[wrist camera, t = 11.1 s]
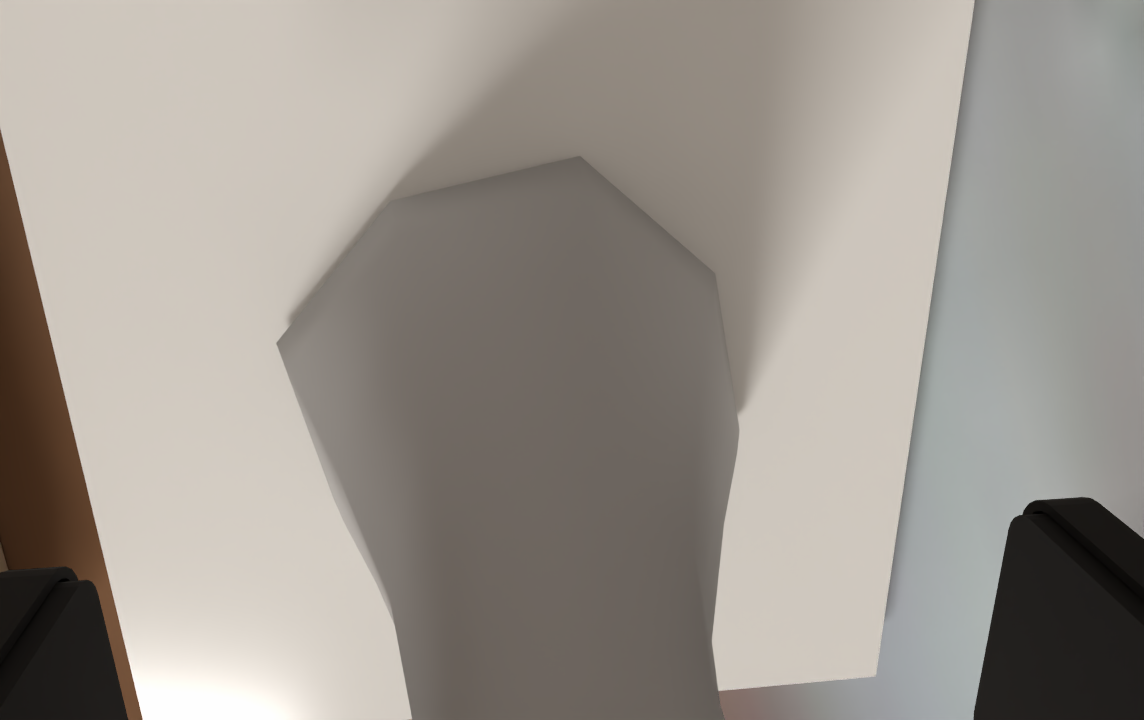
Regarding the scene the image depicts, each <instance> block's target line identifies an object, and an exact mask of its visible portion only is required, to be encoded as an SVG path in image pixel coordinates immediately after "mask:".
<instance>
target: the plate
mask: <svg viewBox="0 0 1144 720" xmlns="http://www.w3.org/2000/svg"><path fill="white" fill-rule="evenodd" d="M974 2H975V0H0V129H1V133H2V137H3V142H4V146H5V150H6V154H7V158H8V162H9V166H10V171H11V175H12V179H13V183H14V187H15V191H16V195H17V200H18V204H19V208H20V212H21V216H22V220H23V224H24V229H25V233H26V237H27V241H28V245H29V249H30V253H31V258H32V262H33V266H34V270H35V274H36V278H37V282H38V287H39V291H40V295H41V299H42V303H43V307H44V311H45V316H46V320H47V324H48V328H49V332H50V336H51V340H52V344H53V349H54V353H55V357H56V361H57V365H58V369H59V373H60V378H61V382H62V386H63V390H64V394H65V398H66V402H67V407H68V411H69V415H70V419H71V423H72V427H73V431H74V436H75V440H76V444H77V448H78V452H79V456H80V460H81V465H82V469H83V473H84V477H85V481H86V485H87V489H88V494H89V498H90V502H91V506H92V510H93V514H94V518H95V523H96V527H97V531H98V535H99V539H100V543H101V547H102V552H103V556H104V560H105V564H106V568H107V572H108V576H109V581H110V585H111V589H112V593H113V597H114V601H115V605H116V610H117V614H118V618H119V622H120V626H121V630H122V634H123V639H124V643H125V647H126V651H127V655H128V659H129V663H130V668H131V672H132V676H133V680H134V684H135V688H136V692H137V697H138V701H139V705H140V709H141V713H142V717H143V720H408V719H412V716H411V710H410V705H409V699H408V694H407V689H406V683H405V678H404V673H403V667H402V662H401V657H400V651H399V646H398V641H397V635H396V630H395V625H394V623H393V621H392V618H391V616H390V614H389V611H388V609H387V607H386V604H385V602H384V600H383V598H382V595H381V593H380V591H379V588H378V586H377V584H376V582H375V580H374V578H373V576H372V574H371V572H370V571H369V569H368V567H367V565H366V563H365V561H364V559H363V557H362V555H361V554H360V552H359V550H358V548H357V546H356V544H355V542H354V540H353V538H352V537H351V535H350V533H349V531H348V529H347V527H346V525H345V523H344V521H343V519H342V517H341V515H340V512H339V510H338V508H337V505H336V503H335V501H334V498H333V496H332V493H331V490H330V488H329V485H328V482H327V479H326V477H325V474H324V471H323V469H322V466H321V463H320V461H319V458H318V455H317V452H316V450H315V447H314V444H313V442H312V439H311V436H310V433H309V431H308V428H307V425H306V423H305V420H304V417H303V415H302V412H301V409H300V406H299V404H298V401H297V398H296V396H295V393H294V390H293V387H292V385H291V382H290V379H289V377H288V374H287V371H286V369H285V366H284V363H283V360H282V358H281V355H280V352H279V350H278V347H277V344H276V343H277V341H278V340H279V339H280V338H281V336H282V335H283V334H284V333H285V331H286V330H287V329H288V328H289V326H290V325H291V324H292V323H293V321H294V320H295V319H296V318H297V316H298V315H299V314H300V313H301V311H302V310H303V309H304V308H305V306H306V305H307V304H308V303H309V301H310V300H311V299H312V298H313V296H314V295H315V294H316V293H317V291H318V290H319V289H320V288H321V286H322V285H323V284H324V283H325V281H326V280H327V279H328V278H329V276H330V275H331V274H332V273H333V271H334V270H335V269H336V268H337V266H338V265H339V264H340V263H341V261H342V260H343V259H344V258H345V256H346V255H347V254H348V253H349V251H350V250H351V249H352V248H353V246H354V245H355V244H356V243H357V241H358V240H359V239H360V238H361V236H362V235H363V234H364V233H365V231H366V230H367V229H368V228H369V226H370V225H371V224H372V223H373V221H374V220H375V219H376V218H377V217H378V215H379V214H380V213H381V212H382V210H383V209H384V208H385V207H386V205H387V204H388V203H389V202H390V201H391V200H395V199H400V198H404V197H408V196H412V195H417V194H421V193H425V192H429V191H433V190H438V189H442V188H446V187H450V186H455V185H459V184H463V183H467V182H471V181H476V180H480V179H484V178H488V177H492V176H497V175H501V174H505V173H509V172H514V171H518V170H522V169H526V168H530V167H535V166H539V165H543V164H547V163H552V162H556V161H560V160H564V159H568V158H573V157H577V156H581V157H582V158H583V159H584V160H585V161H586V162H587V163H589V164H590V165H591V166H592V167H593V168H594V169H596V170H597V171H598V172H599V173H600V174H601V175H602V176H604V177H605V178H606V179H607V180H608V181H609V182H611V183H612V184H613V185H614V186H615V187H616V188H617V189H619V190H620V191H621V192H622V193H623V194H624V195H626V196H627V197H628V198H629V199H630V200H631V201H632V202H634V203H635V204H636V205H637V206H638V207H639V208H640V209H642V210H643V211H644V212H645V213H646V214H647V215H649V216H650V217H651V218H652V219H653V220H654V221H655V222H657V223H658V224H659V225H660V226H661V227H662V228H664V229H665V230H666V231H667V232H668V233H669V234H670V235H672V236H673V237H674V238H675V239H676V240H677V241H678V242H680V243H681V244H682V245H683V246H684V247H685V248H687V249H688V250H689V251H690V252H691V253H692V254H693V255H695V256H696V257H697V258H698V259H699V260H700V261H702V262H703V263H704V264H705V265H706V266H707V267H708V268H710V269H711V270H712V271H713V272H714V273H715V276H716V282H717V288H718V295H719V301H720V308H721V314H722V320H723V327H724V333H725V340H726V346H727V353H728V359H729V365H730V372H731V378H732V385H733V391H734V397H735V404H736V410H737V417H738V423H739V429H740V431H739V441H738V450H737V457H736V462H735V468H734V473H733V478H732V484H731V489H730V494H729V500H728V505H727V510H726V516H725V521H724V529H723V539H722V548H721V558H720V567H719V577H718V586H717V596H716V606H715V615H714V625H713V634H712V647H713V654H714V662H715V670H716V677H717V685H718V691H722V690H733V689H744V688H755V687H765V686H776V685H787V684H798V683H809V682H820V681H830V680H841V679H852V678H863V677H874V676H876V671H877V664H878V657H879V651H880V644H881V637H882V630H883V623H884V616H885V610H886V603H887V596H888V589H889V582H890V575H891V569H892V562H893V555H894V548H895V541H896V535H897V528H898V521H899V514H900V507H901V500H902V494H903V487H904V480H905V473H906V466H907V459H908V453H909V446H910V439H911V432H912V425H913V419H914V412H915V405H916V398H917V391H918V384H919V378H920V371H921V364H922V357H923V350H924V344H925V337H926V330H927V323H928V316H929V309H930V303H931V296H932V289H933V282H934V275H935V268H936V262H937V255H938V248H939V241H940V234H941V228H942V221H943V214H944V207H945V200H946V193H947V187H948V180H949V173H950V166H951V159H952V153H953V146H954V139H955V132H956V125H957V118H958V112H959V105H960V98H961V91H962V84H963V77H964V71H965V64H966V57H967V50H968V43H969V37H970V30H971V23H972V16H973V9H974Z"/></svg>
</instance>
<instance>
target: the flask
mask: <svg viewBox="0 0 1144 720" xmlns="http://www.w3.org/2000/svg"><path fill="white" fill-rule="evenodd" d="M276 344H277V347H278V350H279V352H280V355H281V358H282V360H283V363H284V366H285V369H286V371H287V374H288V377H289V379H290V382H291V385H292V387H293V390H294V393H295V396H296V398H297V401H298V404H299V406H300V409H301V412H302V415H303V417H304V420H305V423H306V425H307V428H308V431H309V433H310V436H311V439H312V442H313V444H314V447H315V450H316V452H317V455H318V458H319V461H320V463H321V466H322V469H323V471H324V474H325V477H326V479H327V482H328V485H329V488H330V490H331V493H332V496H333V498H334V501H335V503H336V505H337V508H338V510H339V512H340V515H341V517H342V519H343V521H344V523H345V525H346V527H347V529H348V531H349V533H350V535H351V537H352V538H353V540H354V542H355V544H356V546H357V548H358V550H359V552H360V554H361V555H362V557H363V559H364V561H365V563H366V565H367V567H368V569H369V571H370V572H371V574H372V576H373V578H374V580H375V582H376V584H377V586H378V588H379V591H380V593H381V595H382V598H383V600H384V602H385V604H386V607H387V609H388V611H389V614H390V616H391V618H392V621H393V623H394V625H395V630H396V635H397V641H398V646H399V651H400V657H401V662H402V667H403V673H404V678H405V683H406V689H407V694H408V699H409V705H410V710H411V716H412V720H725V718H724V715H723V712H722V710H721V707H720V700H719V692H718V685H717V677H716V670H715V662H714V654H713V647H712V634H713V625H714V615H715V606H716V596H717V586H718V577H719V567H720V558H721V548H722V539H723V529H724V521H725V516H726V510H727V505H728V500H729V494H730V489H731V484H732V478H733V473H734V468H735V462H736V457H737V450H738V441H739V431H740V429H739V423H738V417H737V410H736V404H735V397H734V391H733V385H732V378H731V372H730V365H729V359H728V353H727V346H726V340H725V333H724V327H723V320H722V314H721V308H720V301H719V295H718V288H717V282H716V276H715V273H714V272H713V271H712V270H711V269H710V268H708V267H707V266H706V265H705V264H704V263H703V262H702V261H700V260H699V259H698V258H697V257H696V256H695V255H693V254H692V253H691V252H690V251H689V250H688V249H687V248H685V247H684V246H683V245H682V244H681V243H680V242H678V241H677V240H676V239H675V238H674V237H673V236H672V235H670V234H669V233H668V232H667V231H666V230H665V229H664V228H662V227H661V226H660V225H659V224H658V223H657V222H655V221H654V220H653V219H652V218H651V217H650V216H649V215H647V214H646V213H645V212H644V211H643V210H642V209H640V208H639V207H638V206H637V205H636V204H635V203H634V202H632V201H631V200H630V199H629V198H628V197H627V196H626V195H624V194H623V193H622V192H621V191H620V190H619V189H617V188H616V187H615V186H614V185H613V184H612V183H611V182H609V181H608V180H607V179H606V178H605V177H604V176H602V175H601V174H600V173H599V172H598V171H597V170H596V169H594V168H593V167H592V166H591V165H590V164H589V163H587V162H586V161H585V160H584V159H583V158H582V157H581V156H577V157H573V158H568V159H564V160H560V161H556V162H552V163H547V164H543V165H539V166H535V167H530V168H526V169H522V170H518V171H514V172H509V173H505V174H501V175H497V176H492V177H488V178H484V179H480V180H476V181H471V182H467V183H463V184H459V185H455V186H450V187H446V188H442V189H438V190H433V191H429V192H425V193H421V194H417V195H412V196H408V197H404V198H400V199H395V200H391V201H390V202H389V203H388V204H387V205H386V207H385V208H384V209H383V210H382V212H381V213H380V214H379V215H378V217H377V218H376V219H375V220H374V221H373V223H372V224H371V225H370V226H369V228H368V229H367V230H366V231H365V233H364V234H363V235H362V236H361V238H360V239H359V240H358V241H357V243H356V244H355V245H354V246H353V248H352V249H351V250H350V251H349V253H348V254H347V255H346V256H345V258H344V259H343V260H342V261H341V263H340V264H339V265H338V266H337V268H336V269H335V270H334V271H333V273H332V274H331V275H330V276H329V278H328V279H327V280H326V281H325V283H324V284H323V285H322V286H321V288H320V289H319V290H318V291H317V293H316V294H315V295H314V296H313V298H312V299H311V300H310V301H309V303H308V304H307V305H306V306H305V308H304V309H303V310H302V311H301V313H300V314H299V315H298V316H297V318H296V319H295V320H294V321H293V323H292V324H291V325H290V326H289V328H288V329H287V330H286V331H285V333H284V334H283V335H282V336H281V338H280V339H279V340H278V341H277V343H276Z"/></svg>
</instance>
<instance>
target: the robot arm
mask: <svg viewBox="0 0 1144 720" xmlns="http://www.w3.org/2000/svg"><path fill="white" fill-rule="evenodd" d="M0 720H128V717H127V713H126V709H125V705H124V701H123V697H122V692H121V688H120V684H119V680H118V676H117V672H116V667H115V663H114V659H113V655H112V651H111V646H110V642H109V638H108V634H107V630H106V626H105V621H104V617H103V613H102V609H101V605H100V601H99V596H98V593H97V590H96V587H95V586H94V584H93V583H92V582H91V581H89V580H82V581H78V579H77V576H76V574H75V573H74V572H73V570H72V569H70V568H68V567H66V566H65V567H50V568H36V569H21V570H7V571H3V572H0ZM974 720H1144V539H1143V538H1142V537H1141V536H1139V535H1138V534H1137V533H1136V532H1134V531H1133V530H1132V529H1131V528H1129V527H1128V526H1127V525H1126V524H1124V523H1123V522H1122V521H1121V520H1119V519H1118V518H1117V517H1116V516H1115V515H1113V514H1112V513H1111V512H1110V511H1108V510H1107V509H1106V508H1105V507H1103V506H1102V505H1101V504H1100V503H1098V502H1097V501H1095V500H1093V499H1091V498H1085V497H1079V498H1065V499H1050V500H1035V501H1033V502H1031V503H1029V504H1028V506H1027V507H1026V508H1025V510H1024V512H1023V515H1019V516H1017V517H1015V518H1014V519H1013V520H1012V522H1011V524H1010V527H1009V530H1008V535H1007V541H1006V546H1005V551H1004V556H1003V562H1002V567H1001V572H1000V578H999V583H998V588H997V594H996V599H995V604H994V609H993V615H992V620H991V625H990V631H989V636H988V641H987V646H986V652H985V657H984V662H983V668H982V673H981V678H980V683H979V689H978V694H977V699H976V705H975V710H974Z"/></svg>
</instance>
